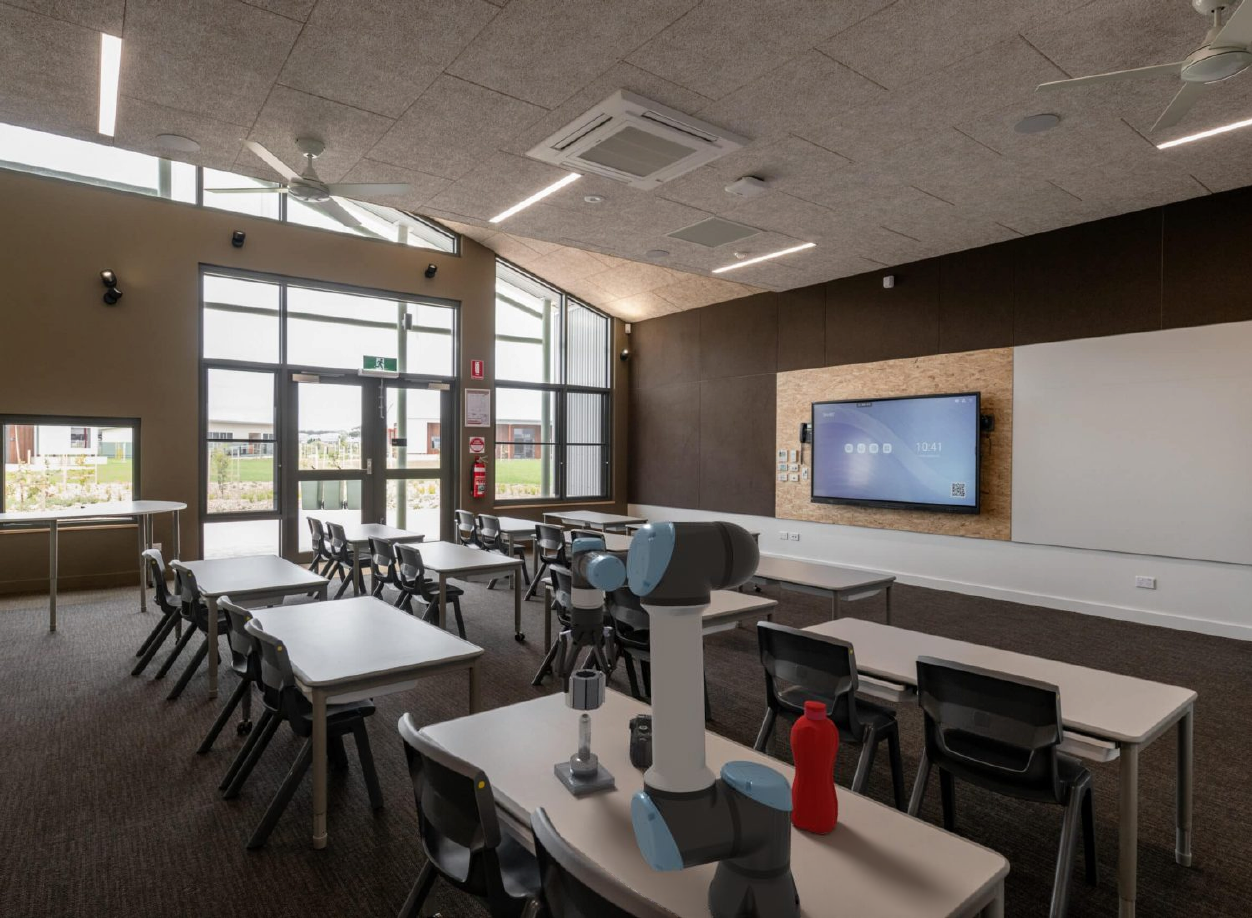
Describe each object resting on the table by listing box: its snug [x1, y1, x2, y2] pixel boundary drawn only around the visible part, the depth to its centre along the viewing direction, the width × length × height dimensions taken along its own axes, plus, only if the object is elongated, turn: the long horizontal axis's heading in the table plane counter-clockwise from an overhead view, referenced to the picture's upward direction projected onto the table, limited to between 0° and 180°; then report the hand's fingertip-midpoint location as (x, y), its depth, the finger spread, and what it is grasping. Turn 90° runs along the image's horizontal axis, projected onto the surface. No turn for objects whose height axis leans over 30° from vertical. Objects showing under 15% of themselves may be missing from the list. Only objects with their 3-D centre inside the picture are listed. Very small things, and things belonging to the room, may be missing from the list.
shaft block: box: [553, 712, 616, 797], centre depth 159 cm, size 12×10×15 cm
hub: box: [570, 668, 603, 712], centre depth 159 cm, size 8×8×7 cm
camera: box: [628, 712, 653, 768], centre depth 172 cm, size 13×10×10 cm
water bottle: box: [789, 700, 840, 835], centre depth 143 cm, size 9×11×25 cm
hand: (585, 703), depth 159 cm, fingers closed on hub, 7 cm apart
